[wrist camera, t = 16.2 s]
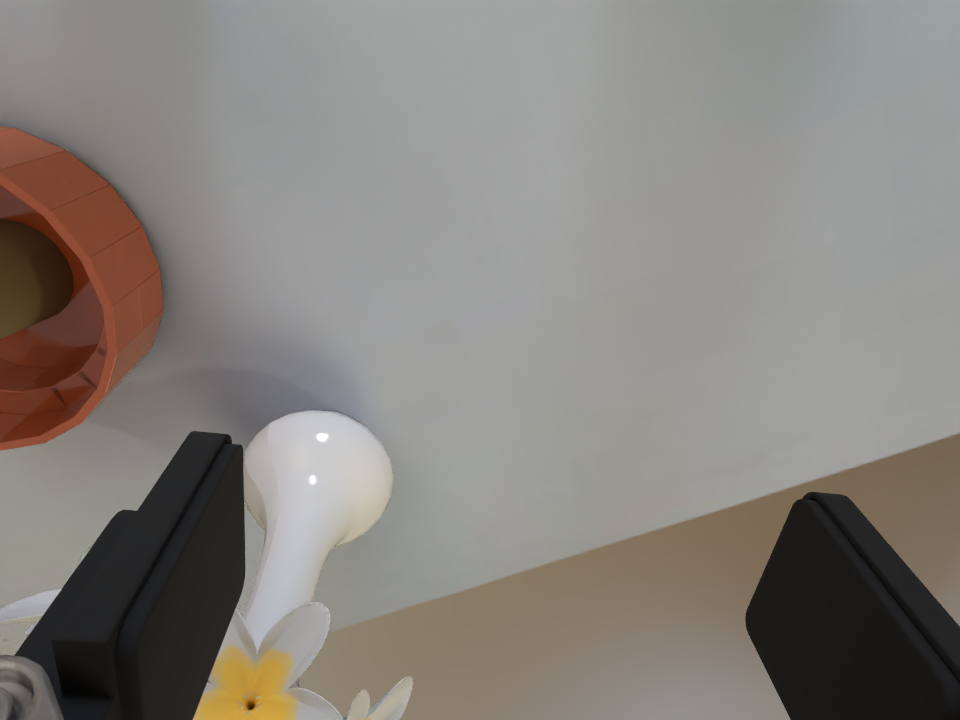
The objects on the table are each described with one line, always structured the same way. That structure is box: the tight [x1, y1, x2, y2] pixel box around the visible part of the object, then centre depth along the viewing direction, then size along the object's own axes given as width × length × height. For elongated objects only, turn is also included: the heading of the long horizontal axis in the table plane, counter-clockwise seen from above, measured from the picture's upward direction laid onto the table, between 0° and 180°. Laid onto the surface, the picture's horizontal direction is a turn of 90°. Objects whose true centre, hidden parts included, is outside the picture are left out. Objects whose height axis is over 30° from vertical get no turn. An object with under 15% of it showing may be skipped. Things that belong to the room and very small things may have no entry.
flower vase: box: [0, 410, 413, 720], centre depth 32 cm, size 13×18×25 cm
